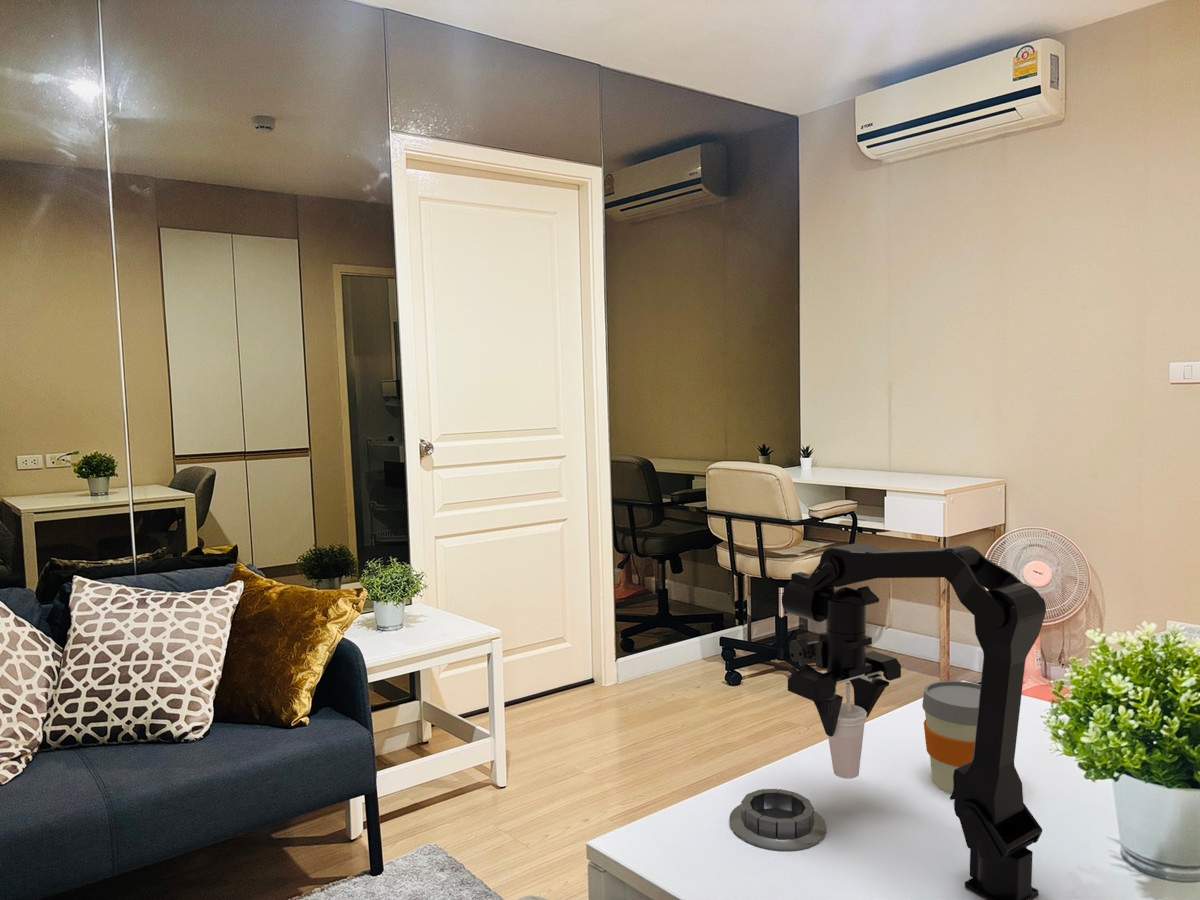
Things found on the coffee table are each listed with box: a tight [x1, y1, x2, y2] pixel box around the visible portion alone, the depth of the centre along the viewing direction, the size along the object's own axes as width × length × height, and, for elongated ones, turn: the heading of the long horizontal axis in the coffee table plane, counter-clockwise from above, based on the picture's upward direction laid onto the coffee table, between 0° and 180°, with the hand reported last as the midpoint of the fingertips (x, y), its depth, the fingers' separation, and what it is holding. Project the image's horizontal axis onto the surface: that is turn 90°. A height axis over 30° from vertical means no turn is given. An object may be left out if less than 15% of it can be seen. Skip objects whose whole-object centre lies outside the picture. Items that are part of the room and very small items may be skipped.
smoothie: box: [827, 682, 868, 780], centre depth 131 cm, size 6×6×14 cm
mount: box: [729, 788, 827, 852], centre depth 129 cm, size 14×14×3 cm
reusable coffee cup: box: [922, 680, 981, 794], centre depth 141 cm, size 12×13×15 cm
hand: (844, 730), depth 131 cm, fingers closed on smoothie, 6 cm apart
